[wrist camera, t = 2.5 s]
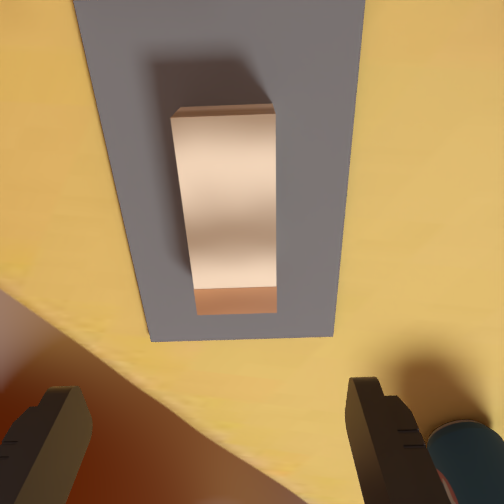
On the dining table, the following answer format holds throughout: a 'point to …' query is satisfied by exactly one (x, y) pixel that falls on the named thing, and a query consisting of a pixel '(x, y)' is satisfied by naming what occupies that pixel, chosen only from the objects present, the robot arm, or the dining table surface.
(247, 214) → the tan rectangular block
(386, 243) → the dining table surface
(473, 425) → the soda can
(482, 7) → the dining table surface
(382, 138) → the dining table surface
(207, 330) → the mat
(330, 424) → the dining table surface
